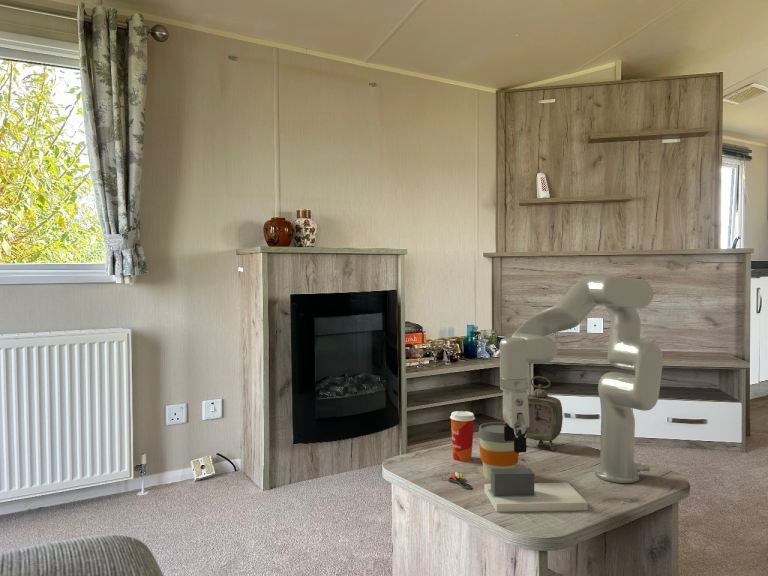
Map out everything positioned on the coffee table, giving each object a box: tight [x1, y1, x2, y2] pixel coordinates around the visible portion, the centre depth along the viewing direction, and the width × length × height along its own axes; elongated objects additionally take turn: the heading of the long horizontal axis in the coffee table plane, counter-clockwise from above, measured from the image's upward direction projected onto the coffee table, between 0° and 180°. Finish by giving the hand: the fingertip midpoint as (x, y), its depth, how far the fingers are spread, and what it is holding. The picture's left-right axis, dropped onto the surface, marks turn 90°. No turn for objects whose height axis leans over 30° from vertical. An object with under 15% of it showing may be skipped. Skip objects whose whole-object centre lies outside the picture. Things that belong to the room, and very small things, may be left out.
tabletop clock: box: [516, 375, 564, 452], centre depth 206 cm, size 14×9×25 cm, turn 59°
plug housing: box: [490, 467, 536, 496], centre depth 158 cm, size 11×4×6 cm, turn 93°
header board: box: [483, 482, 588, 513], centre depth 158 cm, size 24×14×5 cm, turn 93°
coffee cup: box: [449, 410, 476, 462], centre depth 192 cm, size 8×8×15 cm
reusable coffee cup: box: [478, 421, 520, 482], centre depth 176 cm, size 13×13×15 cm
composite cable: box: [447, 471, 473, 491], centre depth 170 cm, size 10×5×2 cm, turn 15°
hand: (514, 446), depth 158 cm, fingers open, 9 cm apart
